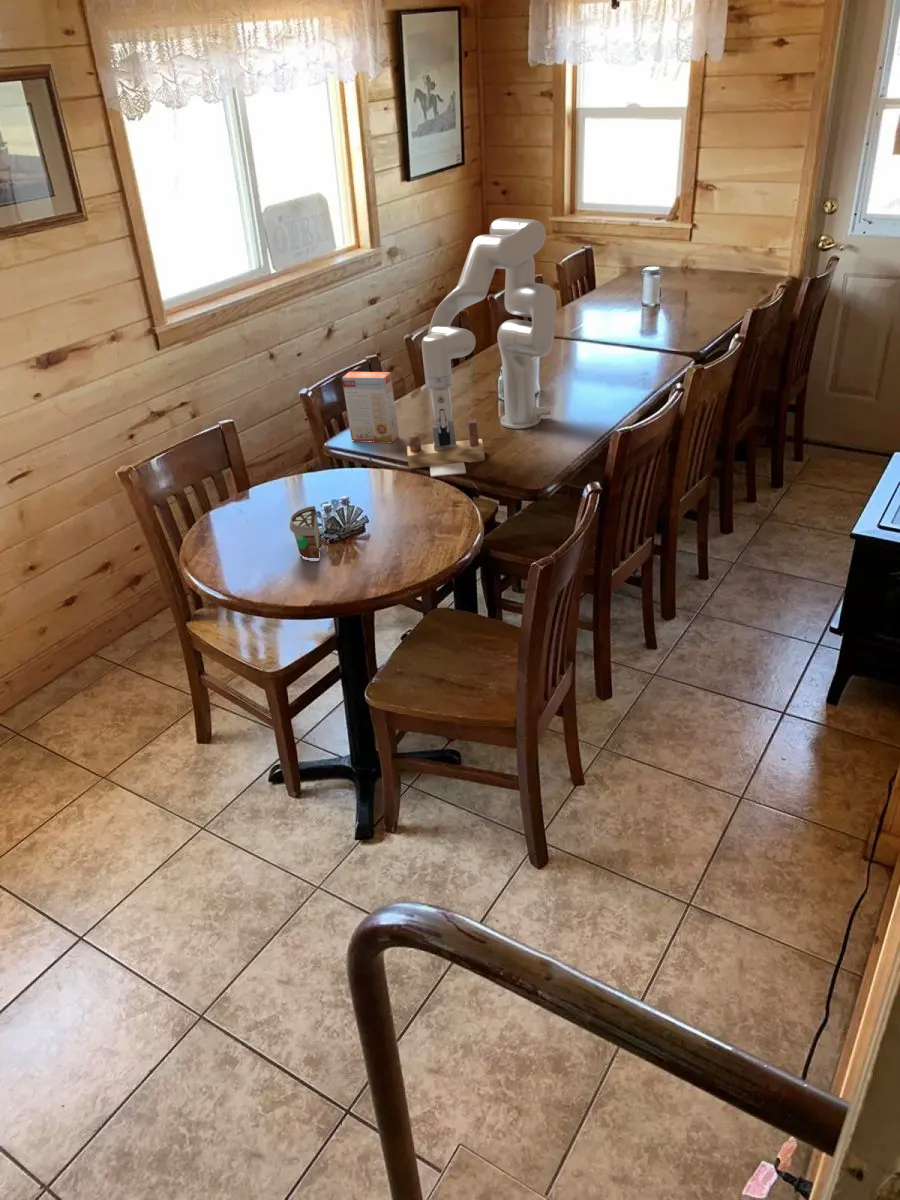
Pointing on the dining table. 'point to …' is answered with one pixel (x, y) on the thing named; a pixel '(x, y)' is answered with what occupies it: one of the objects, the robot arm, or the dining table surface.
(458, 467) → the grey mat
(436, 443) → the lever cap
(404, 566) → the dining table surface
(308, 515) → the lidded drink cup
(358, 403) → the cracker box
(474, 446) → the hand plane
